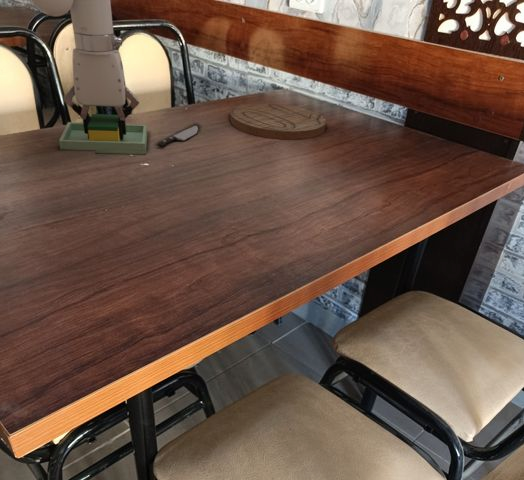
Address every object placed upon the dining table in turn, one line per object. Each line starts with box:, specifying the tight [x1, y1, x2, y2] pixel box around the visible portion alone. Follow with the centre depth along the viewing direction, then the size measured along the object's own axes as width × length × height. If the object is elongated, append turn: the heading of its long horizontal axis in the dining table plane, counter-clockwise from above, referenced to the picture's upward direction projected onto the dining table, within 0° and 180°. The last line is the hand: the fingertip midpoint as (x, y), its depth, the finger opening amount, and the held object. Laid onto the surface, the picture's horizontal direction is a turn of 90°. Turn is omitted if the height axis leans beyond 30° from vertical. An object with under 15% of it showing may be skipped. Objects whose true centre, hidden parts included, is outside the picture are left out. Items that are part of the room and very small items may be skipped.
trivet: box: [230, 102, 327, 141], centre depth 132 cm, size 25×25×2 cm
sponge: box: [88, 113, 120, 142], centre depth 110 cm, size 6×9×4 cm, turn 8°
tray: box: [58, 121, 148, 155], centre depth 111 cm, size 17×13×2 cm
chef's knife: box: [157, 125, 199, 148], centre depth 118 cm, size 19×1×3 cm
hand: (106, 136), depth 111 cm, fingers closed on sponge, 6 cm apart
